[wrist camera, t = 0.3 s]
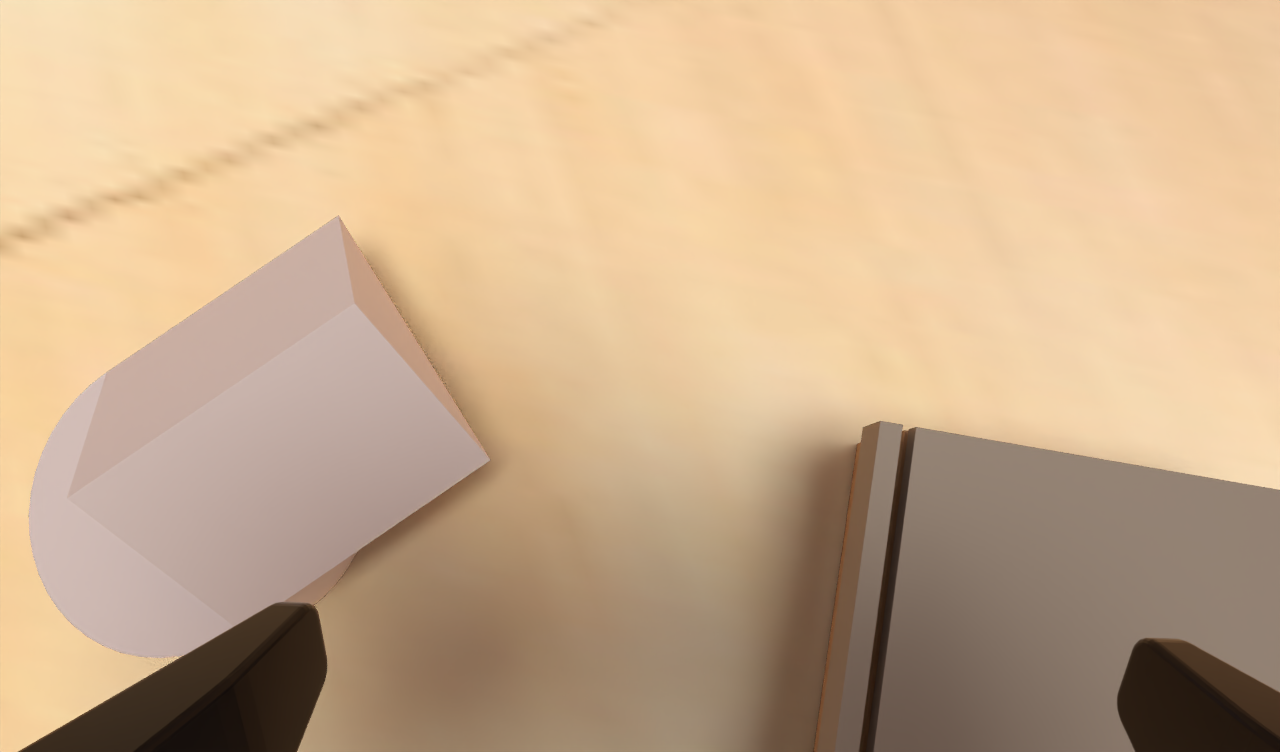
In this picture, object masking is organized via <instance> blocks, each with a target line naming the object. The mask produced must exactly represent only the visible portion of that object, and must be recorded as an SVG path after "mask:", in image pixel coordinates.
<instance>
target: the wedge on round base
mask: <svg viewBox="0 0 1280 752" xmlns="http://www.w3.org/2000/svg"><path fill="white" fill-rule="evenodd" d="M489 461H490V458H489V457H488V455H487V453H486V452H485V450H484V449H483V447H482V445H481V444H480V442H479V440H478V439H477V437H476V436H475V434H474V432H473V431H472V429H471V428H470V426H469V424H468V423H467V421H466V420H465V418H464V416H463V415H462V413H461V412H460V410H459V408H458V407H457V405H456V403H455V402H454V400H453V399H452V397H451V395H450V394H449V392H448V391H447V389H446V387H445V386H444V384H443V383H442V381H441V379H440V378H439V376H438V375H437V373H436V371H435V370H434V368H433V366H432V365H431V363H430V362H429V360H428V358H427V357H426V355H425V354H424V352H423V350H422V349H421V347H420V346H419V344H418V342H417V341H416V339H415V338H414V336H413V334H412V333H411V331H410V330H409V328H408V326H407V325H406V323H405V321H404V320H403V318H402V317H401V315H400V313H399V312H398V310H397V309H396V307H395V305H394V304H393V302H392V301H391V299H390V297H389V296H388V294H387V293H386V291H385V289H384V288H383V286H382V284H381V283H380V281H379V280H378V278H377V276H376V275H375V273H374V272H373V270H372V268H371V267H370V265H369V264H368V262H367V260H366V259H365V257H364V256H363V254H362V252H361V251H360V249H359V247H358V246H357V244H356V243H355V241H354V239H353V238H352V236H351V235H350V233H349V231H348V230H347V228H346V227H345V225H344V223H343V222H342V220H341V219H340V217H339V215H338V216H337V217H335V218H334V219H332V220H331V221H329V222H328V223H326V224H325V225H324V226H322V227H321V228H319V229H318V230H316V231H315V232H313V233H312V234H310V235H309V236H307V237H306V238H304V239H303V240H301V241H300V242H298V243H297V244H295V245H294V246H292V247H291V248H290V249H288V250H287V251H285V252H284V253H282V254H281V255H279V256H278V257H276V258H275V259H273V260H272V261H270V262H269V263H267V264H266V265H264V266H263V267H261V268H260V269H258V270H257V271H256V272H254V273H253V274H251V275H250V276H248V277H247V278H245V279H244V280H242V281H241V282H239V283H238V284H236V285H235V286H233V287H232V288H230V289H229V290H227V291H226V292H224V293H223V294H222V295H220V296H219V297H217V298H216V299H214V300H213V301H211V302H210V303H208V304H207V305H205V306H204V307H202V308H201V309H199V310H198V311H196V312H195V313H193V314H192V315H190V316H189V317H187V318H186V319H185V320H183V321H182V322H180V323H179V324H177V325H176V326H174V327H173V328H171V329H170V330H168V331H167V332H165V333H164V334H162V335H161V336H159V337H158V338H156V339H155V340H153V341H152V342H151V343H149V344H148V345H146V346H145V347H143V348H142V349H140V350H139V351H137V352H136V353H134V354H133V355H131V356H130V357H128V358H127V359H125V360H124V361H122V362H121V363H119V364H118V365H117V366H115V367H114V368H112V369H111V370H109V371H108V372H106V373H105V374H104V375H102V376H101V377H100V378H98V379H97V380H96V381H95V382H93V383H92V384H91V385H90V386H89V387H88V388H87V389H86V390H85V391H84V392H83V393H81V394H80V395H79V396H78V397H77V398H76V399H75V401H74V402H73V403H72V404H71V406H70V407H69V408H68V409H67V411H66V412H65V413H64V414H63V416H62V417H61V419H60V420H59V422H58V424H57V425H56V427H55V428H54V430H53V431H52V433H51V435H50V437H49V439H48V441H47V443H46V446H45V448H44V450H43V452H42V455H41V457H40V460H39V463H38V466H37V469H36V472H35V476H34V481H33V486H32V490H31V497H30V508H29V532H30V540H31V547H32V553H33V557H34V560H35V564H36V567H37V570H38V574H39V576H40V578H41V580H42V583H43V585H44V587H45V589H46V591H47V593H48V595H49V596H50V598H51V599H52V601H53V602H54V604H55V605H56V607H57V608H58V610H59V611H60V612H61V613H62V614H63V615H64V616H65V618H66V619H67V620H68V621H69V622H70V623H71V624H72V625H73V626H74V627H76V628H77V629H78V630H79V631H81V632H82V633H83V634H84V635H85V636H87V637H89V638H90V639H92V640H94V641H96V642H97V643H99V644H101V645H102V646H105V647H107V648H110V649H113V650H115V651H118V652H121V653H125V654H129V655H134V656H139V657H153V658H165V657H174V656H182V655H186V654H187V653H189V652H191V651H192V650H194V649H196V648H198V647H199V646H201V645H203V644H205V643H206V642H208V641H210V640H211V639H213V638H215V637H217V636H218V635H220V634H222V633H223V632H225V631H227V630H229V629H230V628H232V627H234V626H236V625H237V624H239V623H241V622H242V621H244V620H246V619H248V618H249V617H251V616H253V615H254V614H256V613H258V612H260V611H261V610H263V609H265V608H266V607H268V606H270V605H272V604H274V603H278V602H296V603H309V604H312V605H314V604H316V603H317V602H318V601H320V600H321V599H322V598H323V597H324V596H325V595H326V594H327V593H328V592H329V591H330V590H331V589H332V588H333V587H334V586H335V585H336V583H337V582H338V581H339V579H340V578H341V577H342V575H343V574H344V573H345V571H346V570H347V569H348V567H349V565H350V563H351V562H352V560H353V558H354V556H355V555H356V553H357V551H358V550H360V549H361V548H363V547H364V546H366V545H367V544H369V543H370V542H372V541H373V540H374V539H376V538H377V537H379V536H380V535H382V534H383V533H385V532H386V531H388V530H389V529H391V528H392V527H393V526H395V525H396V524H398V523H399V522H401V521H402V520H404V519H405V518H407V517H408V516H410V515H411V514H412V513H414V512H415V511H417V510H418V509H420V508H421V507H423V506H424V505H426V504H427V503H429V502H430V501H431V500H433V499H434V498H436V497H437V496H439V495H440V494H442V493H443V492H445V491H446V490H448V489H449V488H451V487H452V486H453V485H455V484H456V483H458V482H459V481H461V480H462V479H464V478H465V477H467V476H468V475H470V474H471V473H472V472H474V471H475V470H477V469H478V468H480V467H481V466H483V465H484V464H486V463H487V462H489Z"/></svg>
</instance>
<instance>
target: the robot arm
mask: <svg viewBox="0 0 1280 752" xmlns="http://www.w3.org/2000/svg"><path fill="white" fill-rule="evenodd" d="M326 673H327V656H326V651H325V645H324V640H323V635H322V629H321V624H320V619H319V614H318V611H317V609H316V608H315V606H313V605H312V604H309V603H296V602H278V603H274V604H272V605H270V606H268V607H266V608H265V609H263V610H261V611H260V612H258V613H256V614H254V615H253V616H251V617H249V618H248V619H246V620H244V621H242V622H241V623H239V624H237V625H236V626H234V627H232V628H230V629H229V630H227V631H225V632H223V633H222V634H220V635H218V636H217V637H215V638H213V639H211V640H210V641H208V642H206V643H205V644H203V645H201V646H199V647H198V648H196V649H194V650H192V651H191V652H189V653H187V654H186V655H184V656H182V657H180V658H179V659H177V660H175V661H174V662H172V663H170V664H168V665H167V666H165V667H163V668H161V669H160V670H158V671H156V672H155V673H153V674H151V675H149V676H148V677H146V678H144V679H143V680H141V681H139V682H137V683H136V684H134V685H132V686H130V687H129V688H127V689H125V690H124V691H122V692H120V693H118V694H117V695H115V696H113V697H112V698H110V699H108V700H106V701H105V702H103V703H101V704H99V705H98V706H96V707H94V708H93V709H91V710H89V711H87V712H86V713H84V714H82V715H80V716H79V717H77V718H75V719H74V720H72V721H70V722H68V723H67V724H65V725H63V726H62V727H60V728H58V729H56V730H55V731H53V732H51V733H49V734H48V735H46V736H44V737H43V738H41V739H39V740H37V741H36V742H34V743H32V744H31V745H29V746H27V747H25V748H24V749H22V750H20V751H18V752H297V751H298V748H299V745H300V743H301V740H302V738H303V735H304V733H305V730H306V728H307V725H308V723H309V720H310V718H311V715H312V713H313V710H314V708H315V705H316V702H317V700H318V697H319V695H320V692H321V690H322V687H323V685H324V682H325V678H326ZM1117 709H1118V713H1119V717H1120V720H1121V722H1122V725H1123V727H1124V729H1125V731H1126V733H1127V735H1128V738H1129V740H1130V742H1131V744H1132V746H1133V748H1134V750H1135V752H1280V692H1279V691H1277V690H1275V689H1273V688H1271V687H1269V686H1268V685H1266V684H1264V683H1262V682H1260V681H1259V680H1257V679H1255V678H1253V677H1251V676H1249V675H1248V674H1246V673H1244V672H1242V671H1240V670H1239V669H1237V668H1235V667H1233V666H1231V665H1229V664H1228V663H1226V662H1224V661H1222V660H1220V659H1219V658H1217V657H1215V656H1213V655H1211V654H1209V653H1208V652H1206V651H1204V650H1202V649H1200V648H1199V647H1197V646H1195V645H1193V644H1191V643H1189V642H1187V641H1184V640H1181V639H1172V638H1143V639H1140V640H1139V641H1138V642H1137V643H1136V644H1135V645H1134V647H1133V649H1132V652H1131V655H1130V658H1129V661H1128V664H1127V667H1126V670H1125V673H1124V676H1123V679H1122V682H1121V685H1120V687H1119V690H1118V694H1117Z"/></svg>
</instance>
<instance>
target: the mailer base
mask: <svg viewBox="0 0 1280 752" xmlns="http://www.w3.org/2000/svg"><path fill="white" fill-rule="evenodd" d="M907 438H908V431H906V430H905V431H902V435H901V442H900V450H899V457H898V465H897V472H896V479H895V487H894V494H893V502H892V509H891V517H890V524H889V532H888V539H887V547H886V554H885V561H884V569H883V576H882V584H881V591H880V599H879V606H878V614H877V621H876V628H875V636H874V643H873V651H872V658H871V666H870V673H869V681H868V688H867V696H866V703H865V710H864V718H863V725H862V733H861V740H860V748H859V752H866V747H867V739H868V732H869V724H870V717H871V709H872V702H873V694H874V687H875V679H876V671H877V664H878V656H879V649H880V641H881V634H882V626H883V619H884V611H885V604H886V596H887V589H888V581H889V574H890V566H891V559H892V551H893V544H894V536H895V529H896V521H897V513H898V506H899V498H900V491H901V483H902V476H903V468H904V461H905V453H906V446H907ZM860 445H861V443H858V444H857V450H856V457H855V464H854V471H853V478H852V485H851V492H850V499H849V506H848V513H847V520H846V527H845V534H844V541H843V548H842V555H841V562H840V569H839V576H838V583H837V590H836V597H835V604H834V611H833V618H832V625H831V632H830V639H829V646H828V653H827V660H826V667H825V674H824V681H823V688H822V695H821V702H820V709H819V716H818V723H817V730H816V737H815V744H814V751H813V752H817V747H818V740H819V733H820V726H821V719H822V712H823V705H824V698H825V691H826V684H827V677H828V670H829V663H830V656H831V649H832V642H833V635H834V627H835V620H836V613H837V606H838V599H839V592H840V585H841V578H842V571H843V564H844V557H845V550H846V543H847V536H848V529H849V522H850V515H851V508H852V501H853V494H854V487H855V480H856V473H857V466H858V459H859V452H860Z"/></svg>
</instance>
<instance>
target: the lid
mask: <svg viewBox="0 0 1280 752" xmlns="http://www.w3.org/2000/svg"><path fill="white" fill-rule="evenodd" d="M902 427H903V425H901V424H895V423H889V422H883V421H879V422H877V423H874V424H871V425H869V426H866V427H863V431H862V438H861V445H860V452H859V459H858V466H857V473H856V480H855V487H854V494H853V501H852V508H851V515H850V522H849V529H848V536H847V543H846V550H845V557H844V564H843V571H842V578H841V585H840V592H839V599H838V606H837V613H836V620H835V627H834V635H833V642H832V649H831V656H830V663H829V670H828V677H827V684H826V691H825V698H824V705H823V712H822V719H821V726H820V733H819V740H818V747H817V752H859V748H860V740H861V733H862V725H863V718H864V710H865V703H866V696H867V688H868V681H869V673H870V666H871V658H872V651H873V643H874V636H875V628H876V621H877V614H878V606H879V599H880V591H881V584H882V576H883V569H884V561H885V554H886V547H887V539H888V532H889V524H890V517H891V509H892V502H893V494H894V487H895V479H896V472H897V465H898V457H899V450H900V442H901V435H902ZM1143 638H1172V639H1181V640H1184V641H1187V642H1189V643H1191V644H1193V645H1195V646H1197V647H1199V648H1200V649H1202V650H1204V651H1206V652H1208V653H1209V654H1211V655H1213V656H1215V657H1217V658H1219V659H1220V660H1222V661H1224V662H1226V663H1228V664H1229V665H1231V666H1233V667H1235V668H1237V669H1239V670H1240V671H1242V672H1244V673H1246V674H1248V675H1249V676H1251V677H1253V678H1255V679H1257V680H1259V681H1260V682H1262V683H1264V684H1266V685H1268V686H1269V687H1271V688H1273V689H1275V690H1277V691H1279V692H1280V490H1277V489H1271V488H1265V487H1259V486H1254V485H1248V484H1242V483H1236V482H1230V481H1225V480H1219V479H1213V478H1207V477H1201V476H1196V475H1190V474H1184V473H1178V472H1173V471H1167V470H1161V469H1155V468H1149V467H1144V466H1138V465H1132V464H1126V463H1121V462H1115V461H1109V460H1103V459H1097V458H1092V457H1086V456H1080V455H1074V454H1068V453H1063V452H1057V451H1051V450H1045V449H1040V448H1034V447H1028V446H1022V445H1016V444H1011V443H1005V442H999V441H993V440H988V439H982V438H976V437H970V436H964V435H959V434H953V433H947V432H941V431H935V430H930V429H924V428H918V427H915V428H912V429H909V431H908V438H907V446H906V453H905V461H904V468H903V476H902V483H901V491H900V498H899V506H898V513H897V521H896V529H895V536H894V544H893V551H892V559H891V566H890V574H889V581H888V589H887V596H886V604H885V611H884V619H883V626H882V634H881V641H880V649H879V656H878V664H877V671H876V679H875V687H874V694H873V702H872V709H871V717H870V724H869V732H868V739H867V747H866V752H1135V750H1134V748H1133V746H1132V744H1131V742H1130V740H1129V738H1128V735H1127V733H1126V731H1125V729H1124V727H1123V725H1122V722H1121V720H1120V717H1119V713H1118V709H1117V694H1118V690H1119V687H1120V685H1121V682H1122V679H1123V676H1124V673H1125V670H1126V667H1127V664H1128V661H1129V658H1130V655H1131V652H1132V649H1133V647H1134V645H1135V644H1136V643H1137V642H1138V641H1139V640H1140V639H1143Z"/></svg>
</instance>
